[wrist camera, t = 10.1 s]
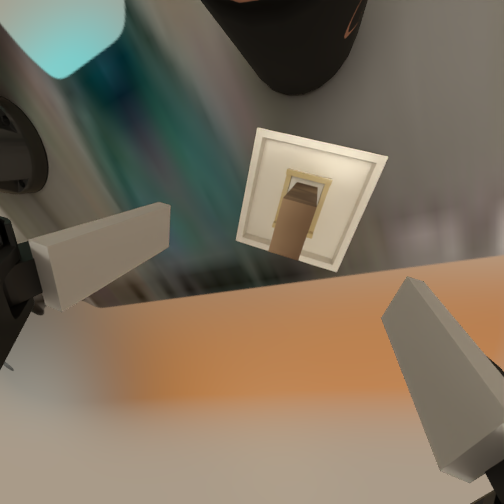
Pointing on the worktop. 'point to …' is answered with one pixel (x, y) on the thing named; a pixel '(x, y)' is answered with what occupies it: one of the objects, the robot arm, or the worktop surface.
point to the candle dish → (315, 174)
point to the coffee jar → (291, 37)
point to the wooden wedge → (294, 220)
